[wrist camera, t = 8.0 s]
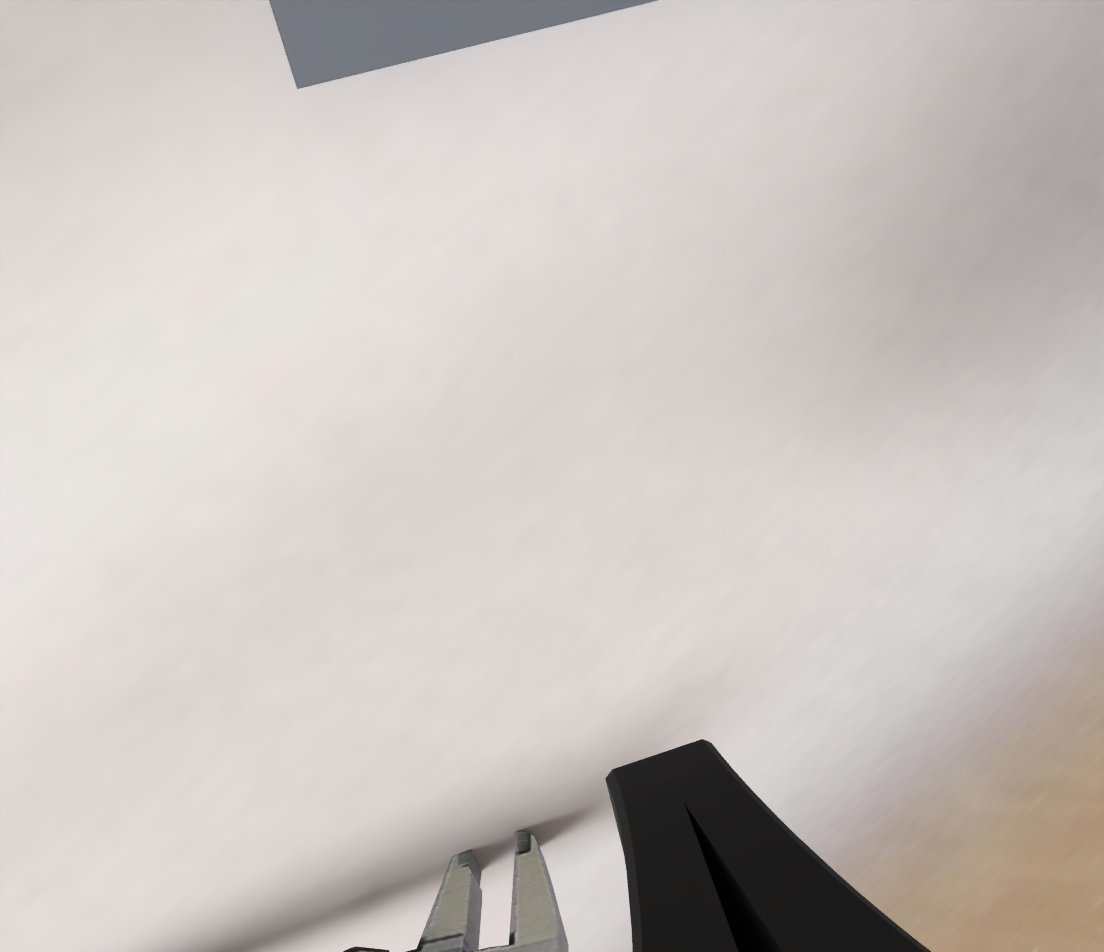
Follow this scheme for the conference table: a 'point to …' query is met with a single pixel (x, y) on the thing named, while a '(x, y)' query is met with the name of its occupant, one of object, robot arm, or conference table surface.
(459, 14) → the dip bank
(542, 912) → the caliper
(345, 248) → the conference table surface
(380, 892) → the conference table surface
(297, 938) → the conference table surface
